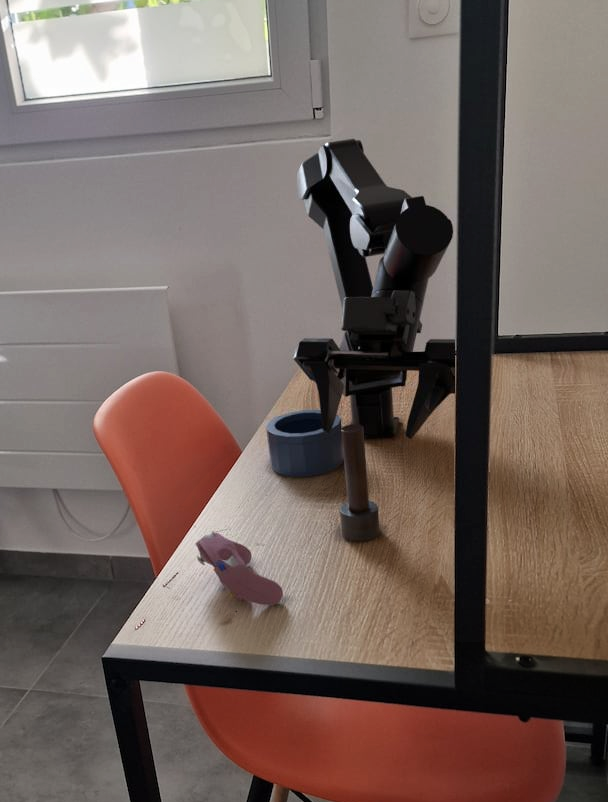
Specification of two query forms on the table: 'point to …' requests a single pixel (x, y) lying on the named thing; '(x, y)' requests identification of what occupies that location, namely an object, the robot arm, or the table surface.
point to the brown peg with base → (357, 490)
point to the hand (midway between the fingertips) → (366, 434)
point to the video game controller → (237, 570)
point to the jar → (304, 444)
